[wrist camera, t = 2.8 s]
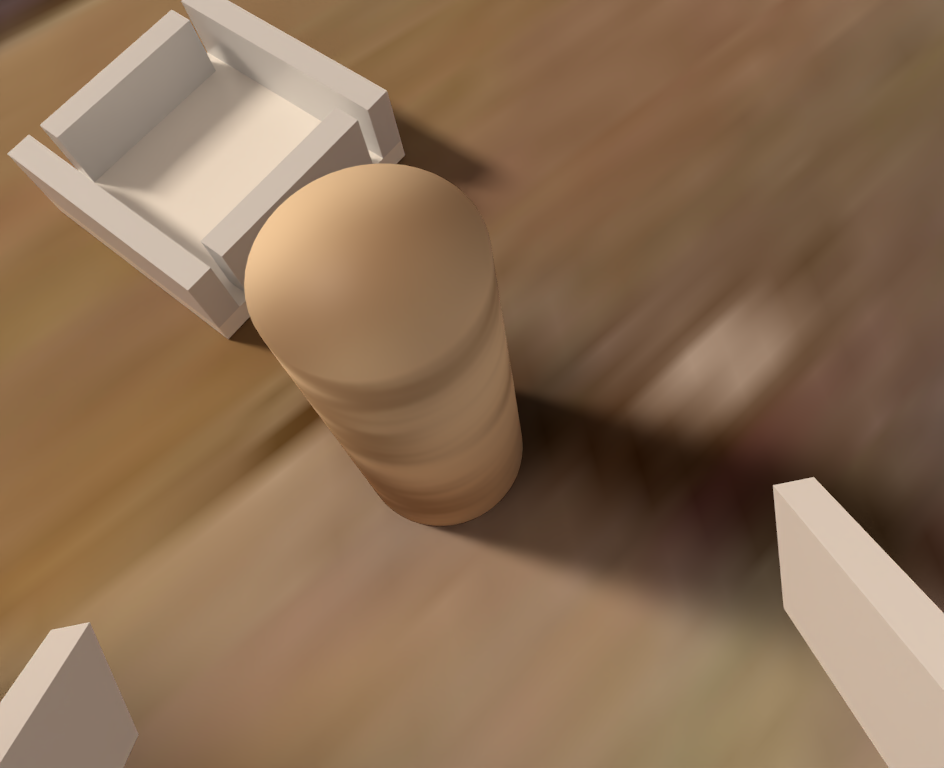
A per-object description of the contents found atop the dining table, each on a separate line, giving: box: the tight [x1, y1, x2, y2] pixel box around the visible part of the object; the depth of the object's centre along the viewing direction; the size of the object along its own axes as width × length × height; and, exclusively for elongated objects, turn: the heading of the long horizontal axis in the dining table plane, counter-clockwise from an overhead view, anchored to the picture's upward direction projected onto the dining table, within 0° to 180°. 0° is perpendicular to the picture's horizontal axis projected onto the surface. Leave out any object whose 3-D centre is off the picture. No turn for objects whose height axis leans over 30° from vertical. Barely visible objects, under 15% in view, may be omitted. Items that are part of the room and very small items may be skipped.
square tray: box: [7, 0, 405, 339], centre depth 36 cm, size 11×11×4 cm
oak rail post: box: [244, 164, 523, 526], centre depth 26 cm, size 6×6×13 cm
